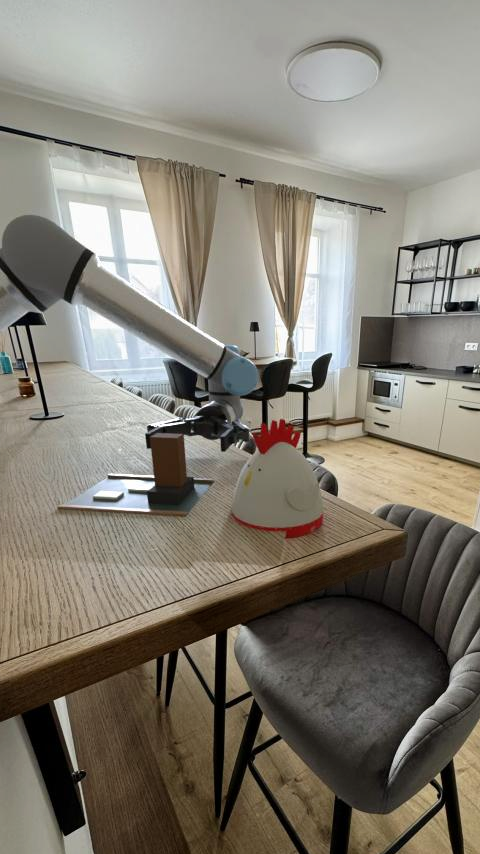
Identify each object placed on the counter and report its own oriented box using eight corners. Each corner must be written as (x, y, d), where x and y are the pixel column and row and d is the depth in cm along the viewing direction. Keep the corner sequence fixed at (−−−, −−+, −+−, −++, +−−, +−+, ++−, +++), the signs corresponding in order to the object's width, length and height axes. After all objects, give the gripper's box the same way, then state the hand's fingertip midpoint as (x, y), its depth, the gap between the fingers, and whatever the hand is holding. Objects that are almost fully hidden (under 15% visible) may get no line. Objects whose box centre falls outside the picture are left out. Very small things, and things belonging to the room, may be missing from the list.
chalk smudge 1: (93, 498, 66) (92, 496, 66) (100, 492, 68) (100, 490, 68) (116, 499, 66) (116, 497, 66) (123, 494, 68) (123, 491, 68)
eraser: (166, 486, 72) (161, 429, 68) (194, 487, 71) (190, 430, 68) (147, 503, 64) (140, 440, 61) (178, 505, 64) (173, 442, 60)
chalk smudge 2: (128, 491, 69) (127, 488, 69) (134, 486, 72) (134, 483, 72) (150, 492, 69) (150, 490, 69) (156, 487, 71) (156, 485, 71)
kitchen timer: (214, 514, 64) (209, 417, 58) (282, 495, 72) (283, 408, 66) (270, 548, 54) (271, 435, 48) (341, 521, 62) (349, 422, 57)
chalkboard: (58, 516, 62) (56, 506, 62) (110, 481, 77) (109, 473, 77) (186, 523, 60) (186, 513, 60) (214, 487, 75) (214, 478, 75)
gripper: (270, 438, 92) (254, 466, 73) (163, 434, 95) (120, 460, 75) (270, 404, 90) (254, 423, 70) (159, 401, 92) (114, 419, 72)
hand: (184, 442), depth 73 cm, fingers open, 13 cm apart
